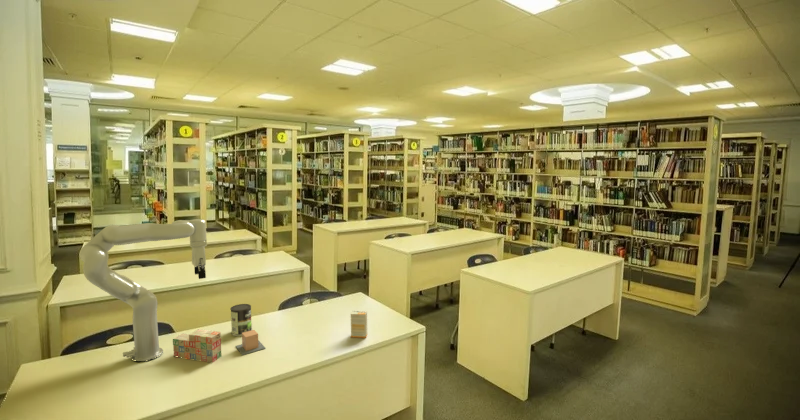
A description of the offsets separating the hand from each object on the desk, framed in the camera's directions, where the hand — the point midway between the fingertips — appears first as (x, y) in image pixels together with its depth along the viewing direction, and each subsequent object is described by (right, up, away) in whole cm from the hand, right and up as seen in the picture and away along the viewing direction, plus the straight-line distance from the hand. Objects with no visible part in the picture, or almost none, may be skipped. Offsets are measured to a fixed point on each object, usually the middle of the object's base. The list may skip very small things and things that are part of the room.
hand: (200, 276), depth 196 cm
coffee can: (+17, -33, +11) cm, 38 cm away
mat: (+29, -34, -7) cm, 45 cm away
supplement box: (+81, -34, +7) cm, 88 cm away
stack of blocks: (+7, -36, -16) cm, 40 cm away
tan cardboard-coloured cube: (+29, -34, -7) cm, 45 cm away
